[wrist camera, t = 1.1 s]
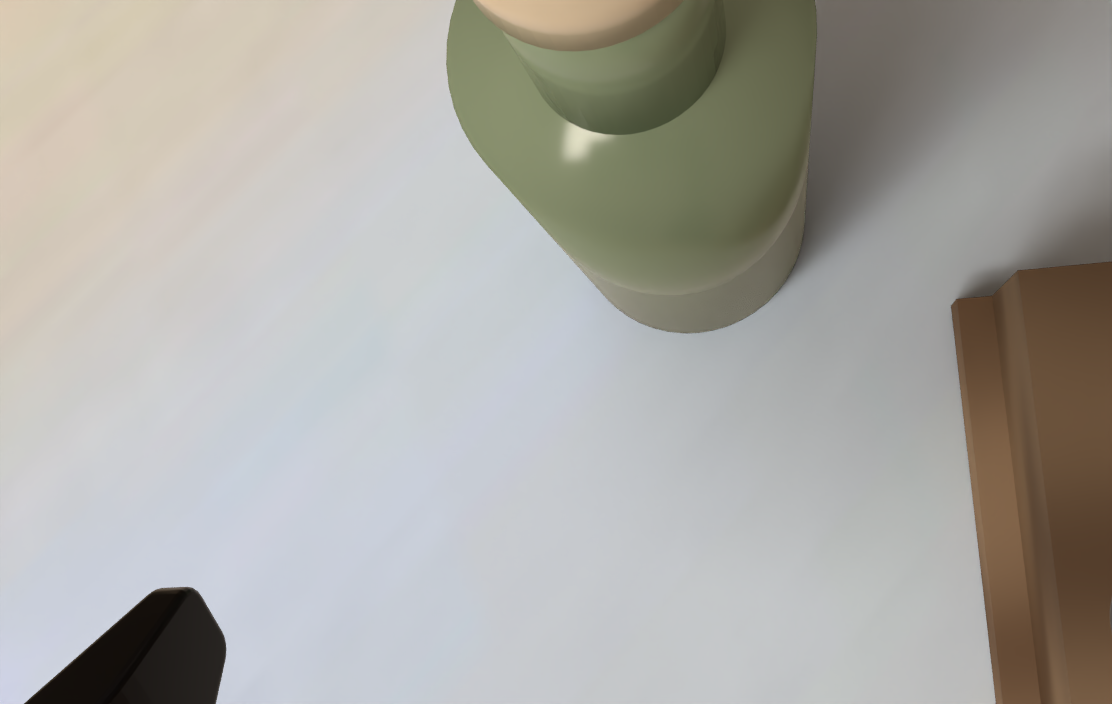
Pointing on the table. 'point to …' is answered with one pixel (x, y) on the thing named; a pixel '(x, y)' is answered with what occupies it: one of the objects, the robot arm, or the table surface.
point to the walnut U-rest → (1042, 477)
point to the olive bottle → (649, 140)
